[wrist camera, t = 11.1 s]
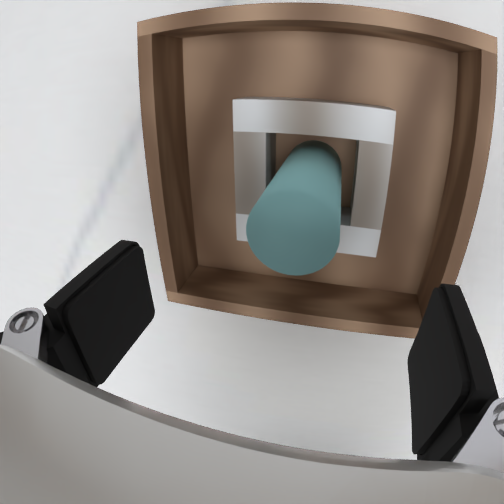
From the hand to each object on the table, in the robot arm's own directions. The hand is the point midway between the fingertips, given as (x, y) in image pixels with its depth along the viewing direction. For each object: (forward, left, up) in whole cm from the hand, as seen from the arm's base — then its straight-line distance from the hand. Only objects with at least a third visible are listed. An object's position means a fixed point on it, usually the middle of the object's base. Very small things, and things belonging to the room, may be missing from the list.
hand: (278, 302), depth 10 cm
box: (0, -1, -14) cm, 14 cm away
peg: (0, -1, -13) cm, 13 cm away
